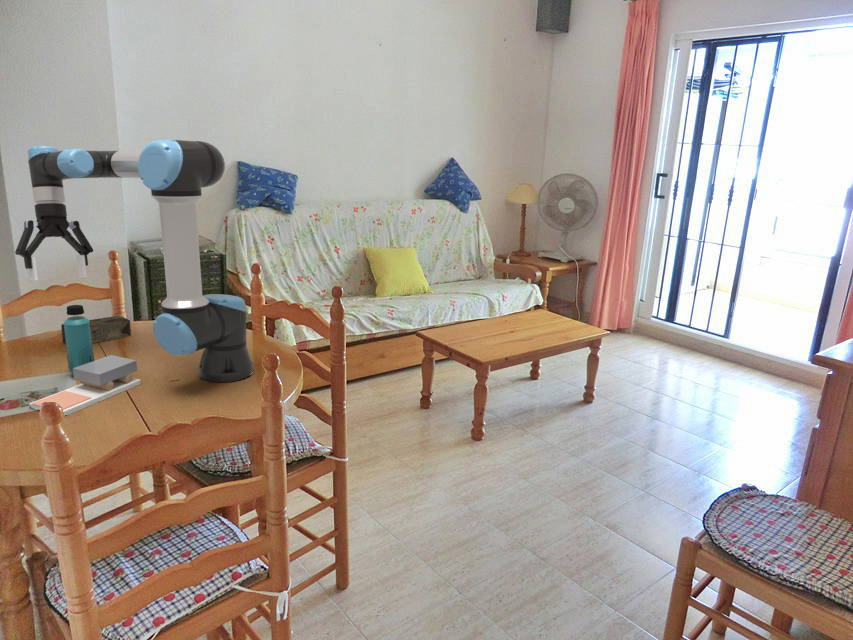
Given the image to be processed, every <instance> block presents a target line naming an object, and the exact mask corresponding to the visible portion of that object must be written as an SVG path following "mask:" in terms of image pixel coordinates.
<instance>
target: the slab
mask: <svg viewBox="0 0 853 640" xmlns="http://www.w3.org/2000/svg"><path fill="white" fill-rule="evenodd" d="M137 371H138V365H137V360H135V359H130V358H126V357H122V356H117V355H113V354H110V355H107V356H104V357H101V358H99V359H94V361H93V362H90V363H87V364H84V365H81V366H78V367H75V368H73V373H72V374H73V380H75V381H83V382H87V383H92V384H96V385H103V384H105V383H108V382H111V381H113V380H116V379H118V378H121V377H123V376H126V375H128V374H131V375H132V374H134V373H135V372H137Z"/></svg>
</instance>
